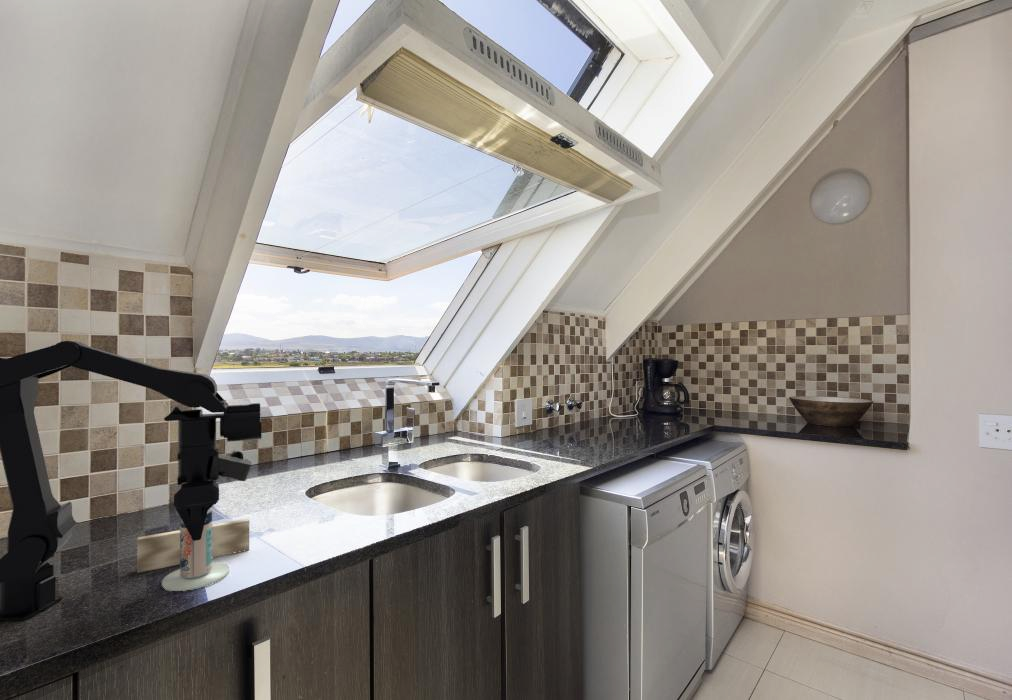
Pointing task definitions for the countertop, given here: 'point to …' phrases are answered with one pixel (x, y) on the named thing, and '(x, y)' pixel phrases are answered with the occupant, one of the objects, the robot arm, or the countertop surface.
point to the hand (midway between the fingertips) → (197, 531)
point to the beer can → (196, 551)
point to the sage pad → (182, 584)
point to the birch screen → (167, 545)
